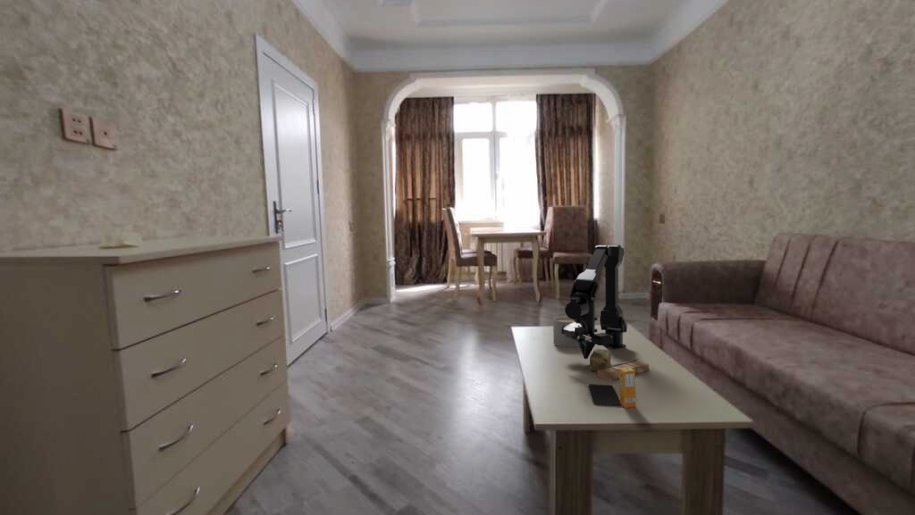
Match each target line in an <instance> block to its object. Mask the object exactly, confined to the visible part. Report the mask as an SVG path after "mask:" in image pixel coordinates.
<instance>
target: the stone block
mask: <svg viewBox="0 0 915 515" xmlns="http://www.w3.org/2000/svg"><path fill="white" fill-rule="evenodd" d="M611 357H612V352H611V350H610V349H600V348H597V349H593V350H592V352H591V354H590V355H589V370H590V371H591V372H592V371H593V372H595V373H597V369H599V368H602V367H606V366H610V365H611Z"/></svg>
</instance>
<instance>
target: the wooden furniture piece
mask: <svg viewBox="0 0 915 515" xmlns="http://www.w3.org/2000/svg"><path fill="white" fill-rule="evenodd" d="M624 367H630V368H631V369H633V370H635V375H636V374H639V373H643V372H645V371H649V370H650V368H649V367H650V365H649V363H647V362H644V361H640V360H638V358H635V359H631V360H627V361H622V362H618V363H615V364H610V366H606V367H602V368H599V369H597V372H596V376H597V377H599V378H602V379H604V380H607V381H609V382H610V381H614V380H619V368H624Z"/></svg>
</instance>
